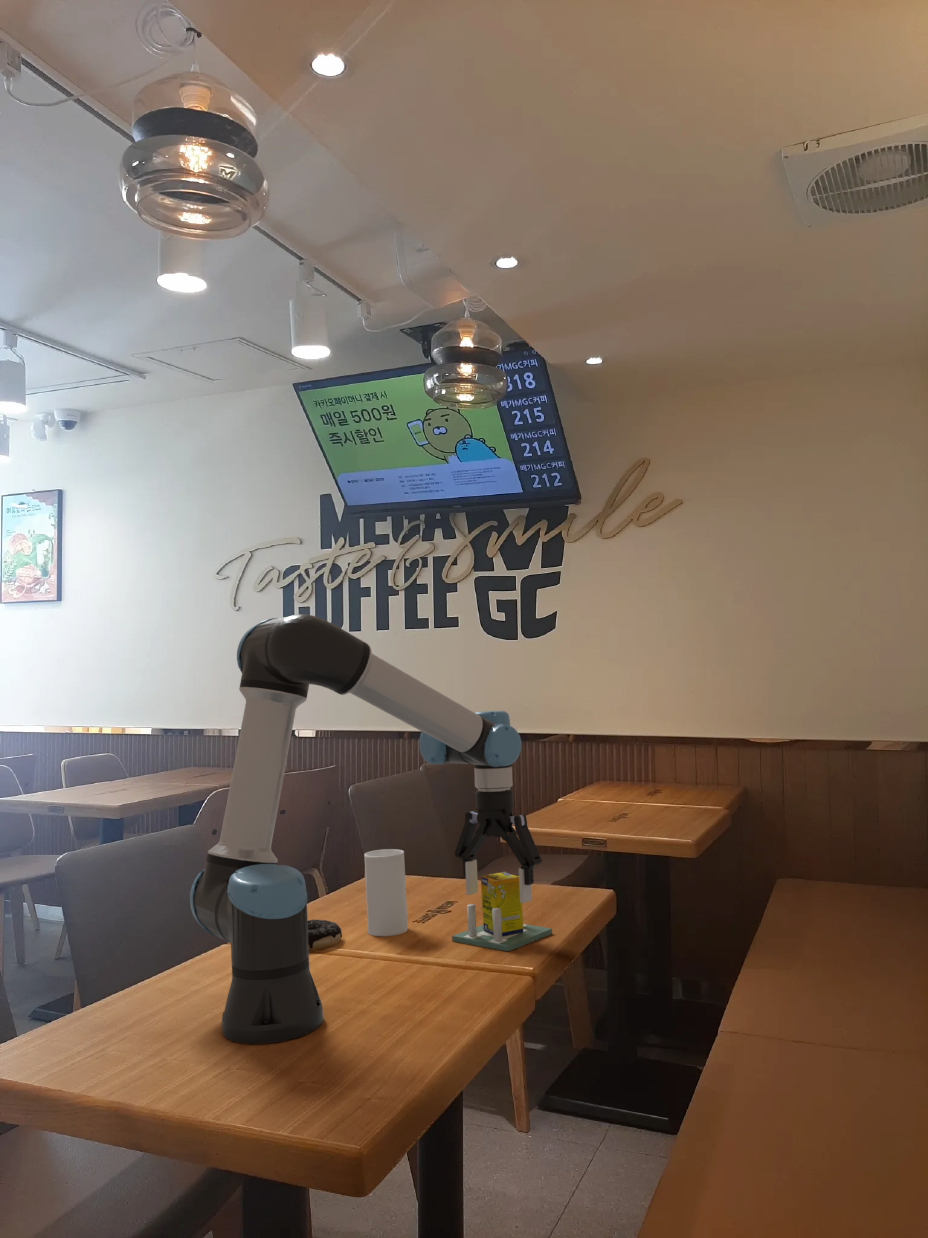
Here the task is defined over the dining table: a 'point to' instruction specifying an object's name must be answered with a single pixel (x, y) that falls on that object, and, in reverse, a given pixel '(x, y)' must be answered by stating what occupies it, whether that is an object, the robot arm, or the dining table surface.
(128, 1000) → the dining table surface
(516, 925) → the supplement box
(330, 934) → the donut
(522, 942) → the header board
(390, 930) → the cup
